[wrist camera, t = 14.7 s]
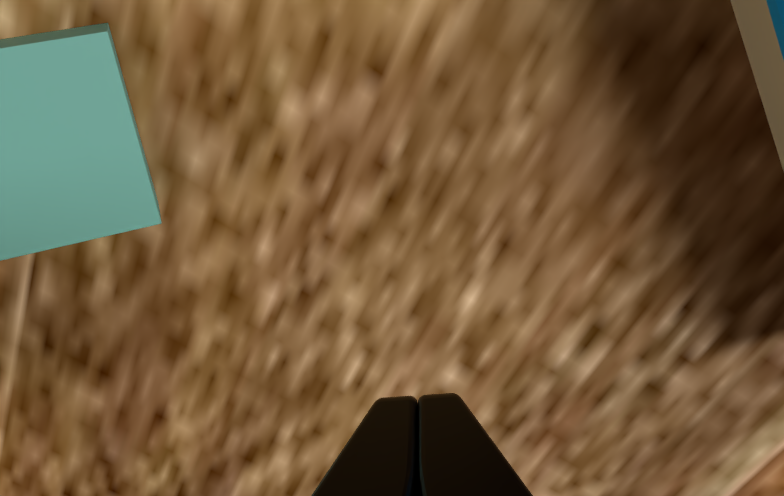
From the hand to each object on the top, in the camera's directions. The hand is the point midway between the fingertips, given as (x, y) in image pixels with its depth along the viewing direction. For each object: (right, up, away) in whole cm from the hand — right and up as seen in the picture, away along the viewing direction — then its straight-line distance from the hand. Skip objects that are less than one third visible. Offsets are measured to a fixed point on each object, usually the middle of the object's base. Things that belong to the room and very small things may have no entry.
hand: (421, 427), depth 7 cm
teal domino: (-7, +5, +11) cm, 14 cm away
